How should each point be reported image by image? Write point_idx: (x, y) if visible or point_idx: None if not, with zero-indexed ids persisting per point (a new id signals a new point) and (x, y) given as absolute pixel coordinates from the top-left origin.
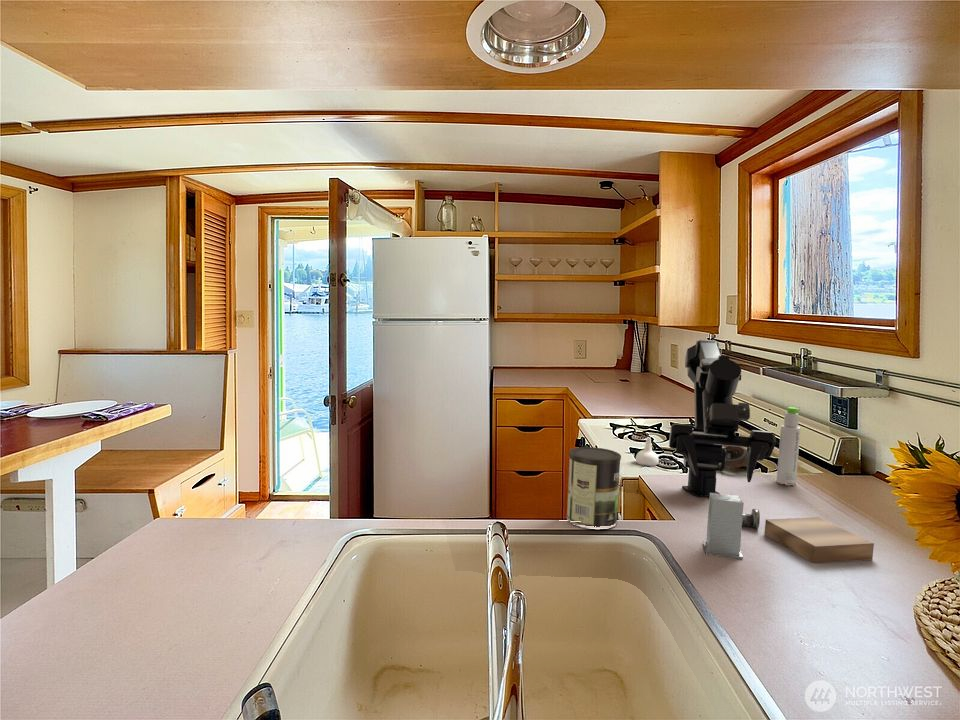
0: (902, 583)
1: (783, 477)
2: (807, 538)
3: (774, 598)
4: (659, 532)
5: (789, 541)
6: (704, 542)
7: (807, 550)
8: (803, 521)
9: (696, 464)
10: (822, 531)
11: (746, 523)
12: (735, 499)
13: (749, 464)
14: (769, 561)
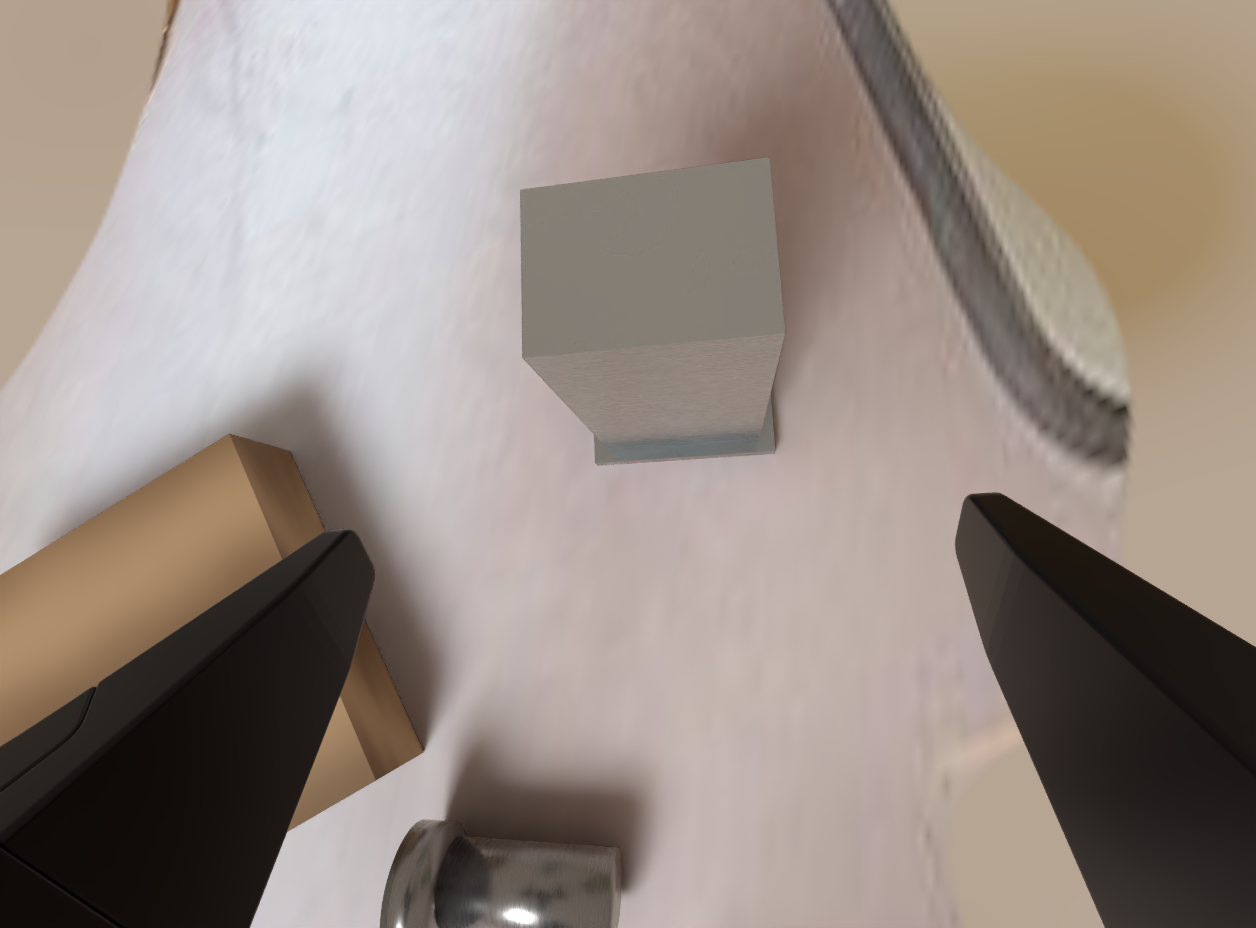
0: (32, 405)
1: None
2: (230, 535)
3: (531, 52)
4: None
5: None
6: (768, 434)
7: (277, 481)
8: None
9: (1051, 564)
10: None
11: (496, 839)
12: (572, 245)
13: (205, 655)
14: (477, 380)
